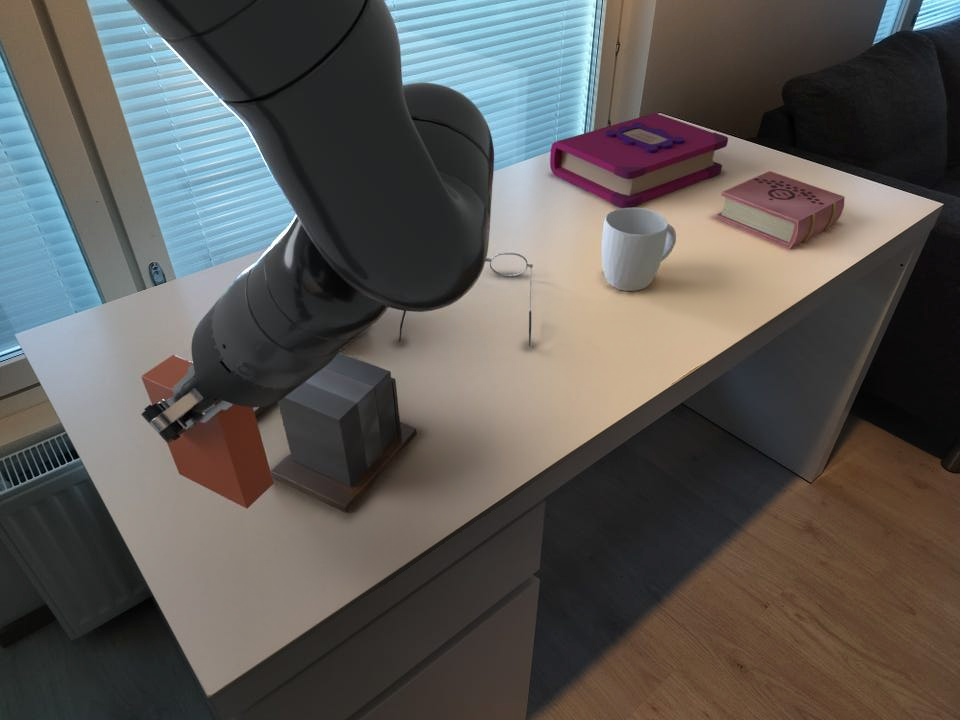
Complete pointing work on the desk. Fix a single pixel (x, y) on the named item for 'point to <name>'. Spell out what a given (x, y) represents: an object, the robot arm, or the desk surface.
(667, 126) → the book
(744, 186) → the book
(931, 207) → the desk surface
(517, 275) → the eyeglasses
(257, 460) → the orange clay brick
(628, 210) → the mug
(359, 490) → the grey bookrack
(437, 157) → the robot arm
